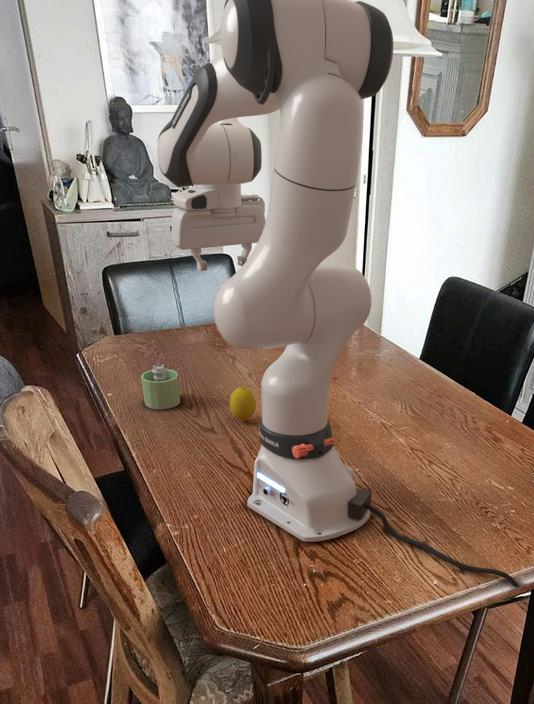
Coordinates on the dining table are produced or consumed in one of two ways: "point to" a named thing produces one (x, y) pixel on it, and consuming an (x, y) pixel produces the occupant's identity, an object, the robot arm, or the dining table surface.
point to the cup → (161, 390)
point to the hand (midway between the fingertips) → (222, 267)
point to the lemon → (242, 403)
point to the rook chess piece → (159, 373)
